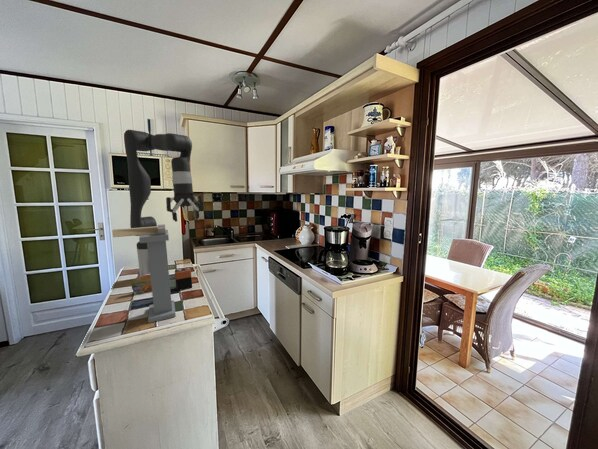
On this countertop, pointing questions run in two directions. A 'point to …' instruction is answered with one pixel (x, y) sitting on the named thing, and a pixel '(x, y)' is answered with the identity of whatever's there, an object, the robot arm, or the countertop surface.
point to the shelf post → (159, 277)
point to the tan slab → (139, 231)
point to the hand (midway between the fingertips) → (186, 220)
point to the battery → (183, 278)
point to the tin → (142, 284)
